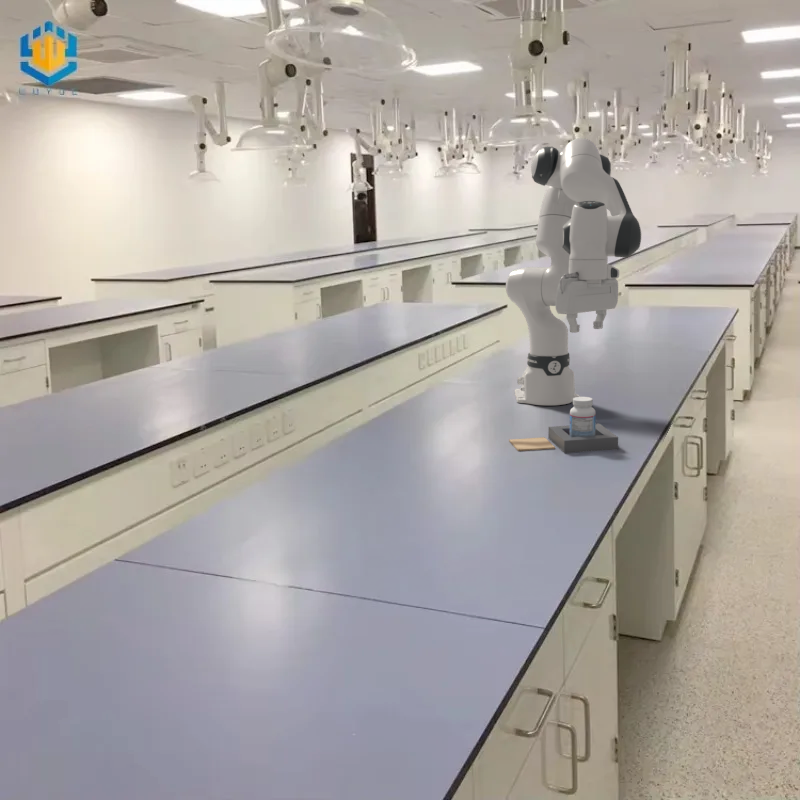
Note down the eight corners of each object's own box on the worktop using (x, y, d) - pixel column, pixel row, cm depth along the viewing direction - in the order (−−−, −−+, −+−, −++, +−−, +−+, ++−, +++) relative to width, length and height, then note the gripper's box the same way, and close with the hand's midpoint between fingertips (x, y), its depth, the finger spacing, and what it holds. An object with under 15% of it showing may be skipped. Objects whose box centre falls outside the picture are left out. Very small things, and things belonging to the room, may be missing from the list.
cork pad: (509, 441, 212) (509, 439, 212) (544, 438, 213) (544, 437, 213) (518, 451, 203) (518, 449, 203) (555, 448, 204) (555, 447, 204)
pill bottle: (576, 439, 212) (577, 394, 209) (599, 442, 208) (600, 397, 205) (564, 445, 207) (565, 399, 205) (587, 448, 203) (588, 402, 201)
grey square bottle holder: (548, 438, 213) (548, 426, 212) (599, 435, 214) (599, 423, 214) (564, 453, 200) (564, 440, 200) (617, 449, 202) (618, 437, 201)
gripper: (572, 274, 192) (570, 335, 195) (623, 270, 206) (621, 327, 208) (549, 273, 197) (548, 333, 199) (601, 269, 210) (599, 326, 213)
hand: (586, 330), depth 204 cm, fingers open, 8 cm apart
